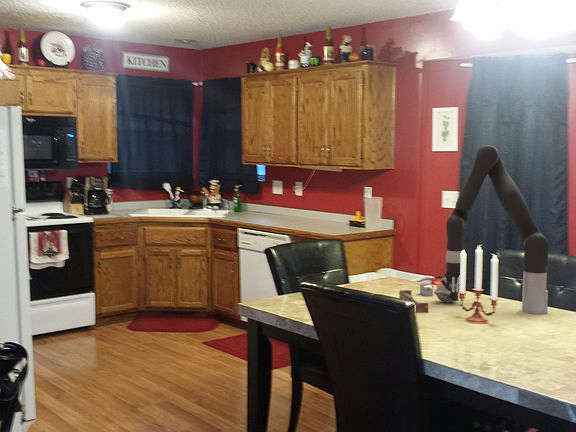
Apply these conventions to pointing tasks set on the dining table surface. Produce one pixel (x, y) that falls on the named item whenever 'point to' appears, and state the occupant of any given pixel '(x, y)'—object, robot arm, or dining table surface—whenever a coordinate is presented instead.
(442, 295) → the rock
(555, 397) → the dining table surface
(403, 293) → the stand
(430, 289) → the tin
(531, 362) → the dining table surface
